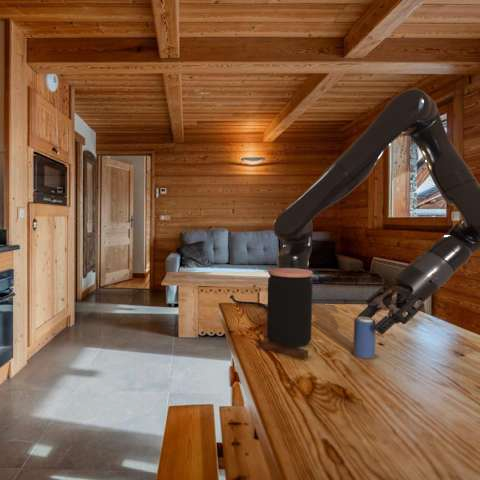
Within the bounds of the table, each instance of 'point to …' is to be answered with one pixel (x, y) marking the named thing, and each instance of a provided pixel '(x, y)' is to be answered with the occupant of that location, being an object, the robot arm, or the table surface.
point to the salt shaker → (364, 337)
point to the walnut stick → (283, 349)
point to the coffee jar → (289, 306)
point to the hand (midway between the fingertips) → (368, 325)
